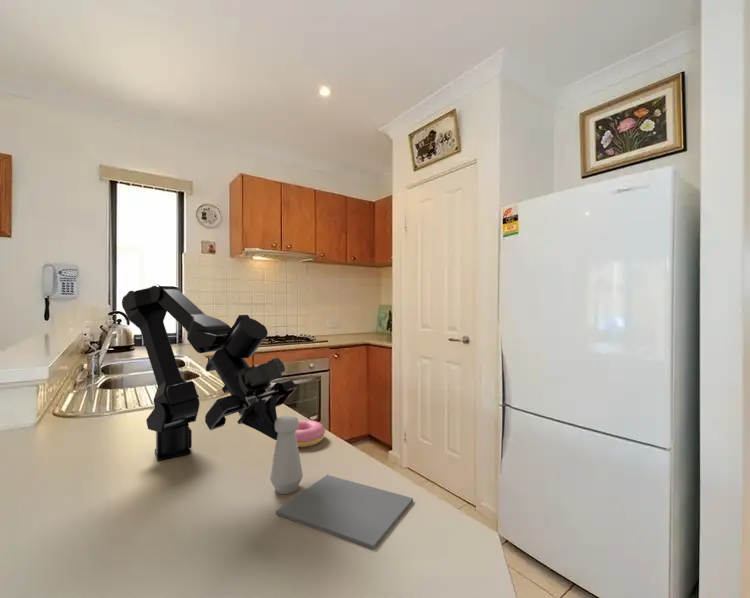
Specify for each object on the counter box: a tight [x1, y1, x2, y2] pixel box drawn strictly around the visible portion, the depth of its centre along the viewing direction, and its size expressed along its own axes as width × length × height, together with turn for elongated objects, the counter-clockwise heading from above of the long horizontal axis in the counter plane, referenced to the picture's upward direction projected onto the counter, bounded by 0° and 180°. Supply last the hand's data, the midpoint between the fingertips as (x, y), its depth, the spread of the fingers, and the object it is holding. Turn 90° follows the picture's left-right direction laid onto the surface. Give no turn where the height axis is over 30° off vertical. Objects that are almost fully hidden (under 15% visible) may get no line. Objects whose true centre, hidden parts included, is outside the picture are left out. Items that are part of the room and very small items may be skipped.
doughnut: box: [295, 419, 326, 448], centre depth 92 cm, size 11×11×4 cm
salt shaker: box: [269, 415, 303, 495], centre depth 69 cm, size 6×6×13 cm
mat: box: [275, 474, 414, 550], centre depth 63 cm, size 18×14×1 cm
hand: (278, 438), depth 70 cm, fingers closed
